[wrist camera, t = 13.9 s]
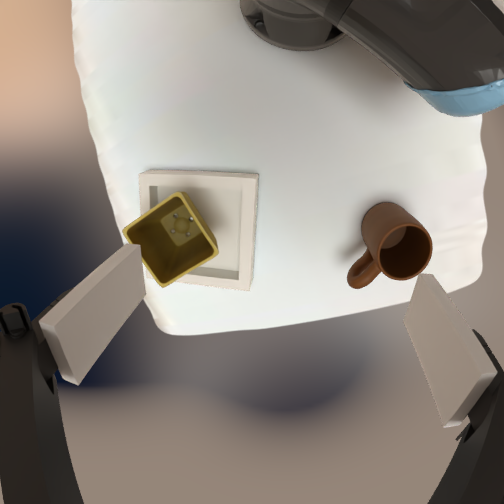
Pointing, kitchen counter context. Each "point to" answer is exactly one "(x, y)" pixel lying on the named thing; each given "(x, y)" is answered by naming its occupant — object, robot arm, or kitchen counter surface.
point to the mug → (391, 246)
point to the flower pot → (172, 239)
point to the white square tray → (213, 219)
